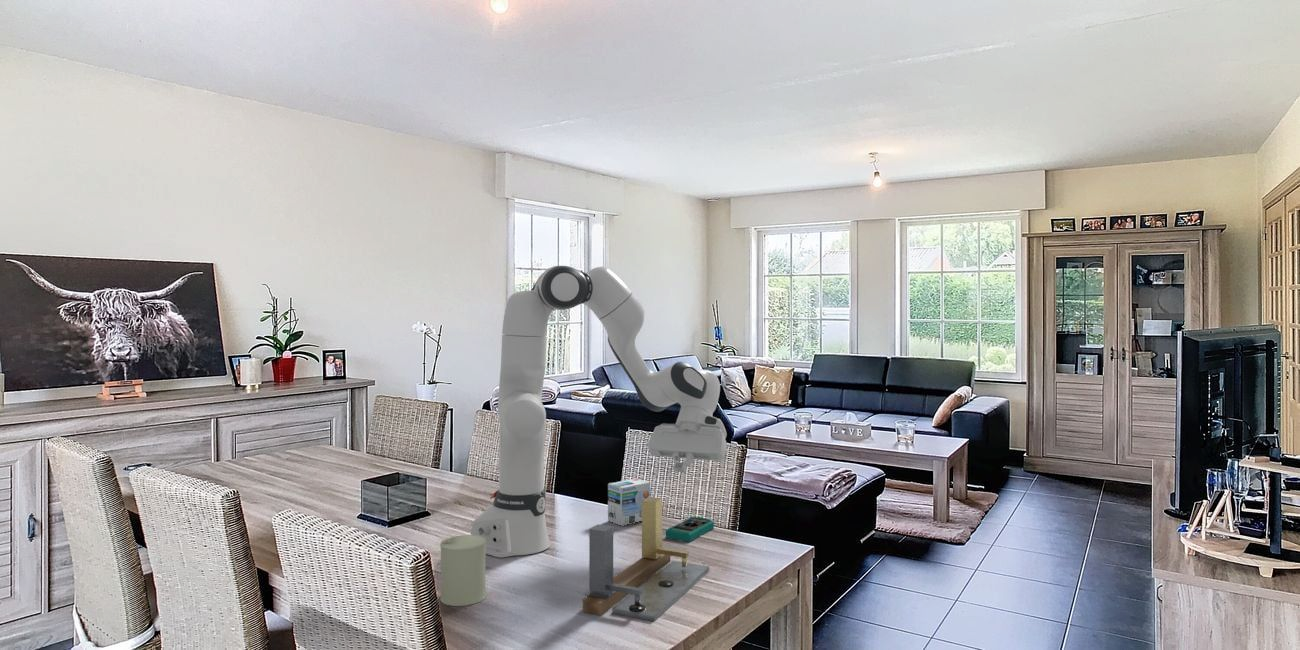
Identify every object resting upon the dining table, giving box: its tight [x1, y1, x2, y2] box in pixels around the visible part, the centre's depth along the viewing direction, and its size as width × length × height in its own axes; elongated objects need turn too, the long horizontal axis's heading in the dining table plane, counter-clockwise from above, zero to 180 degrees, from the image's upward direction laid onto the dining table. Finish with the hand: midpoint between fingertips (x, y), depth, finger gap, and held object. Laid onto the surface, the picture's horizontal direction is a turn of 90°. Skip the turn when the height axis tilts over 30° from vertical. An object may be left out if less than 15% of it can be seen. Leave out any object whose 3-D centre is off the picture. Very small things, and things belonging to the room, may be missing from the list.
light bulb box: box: [607, 478, 651, 527], centre depth 207 cm, size 11×7×11 cm, turn 131°
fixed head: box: [585, 523, 642, 606], centre depth 145 cm, size 11×4×14 cm, turn 65°
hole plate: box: [611, 560, 710, 622], centre depth 155 cm, size 9×30×1 cm, turn 155°
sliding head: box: [641, 496, 689, 567], centre depth 167 cm, size 10×4×14 cm, turn 65°
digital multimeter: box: [665, 516, 715, 543], centre depth 195 cm, size 7×15×3 cm, turn 149°
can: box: [439, 534, 487, 607], centre depth 151 cm, size 9×9×12 cm
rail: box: [582, 554, 671, 616], centre depth 158 cm, size 4×34×2 cm, turn 155°
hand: (678, 470), depth 182 cm, fingers closed
